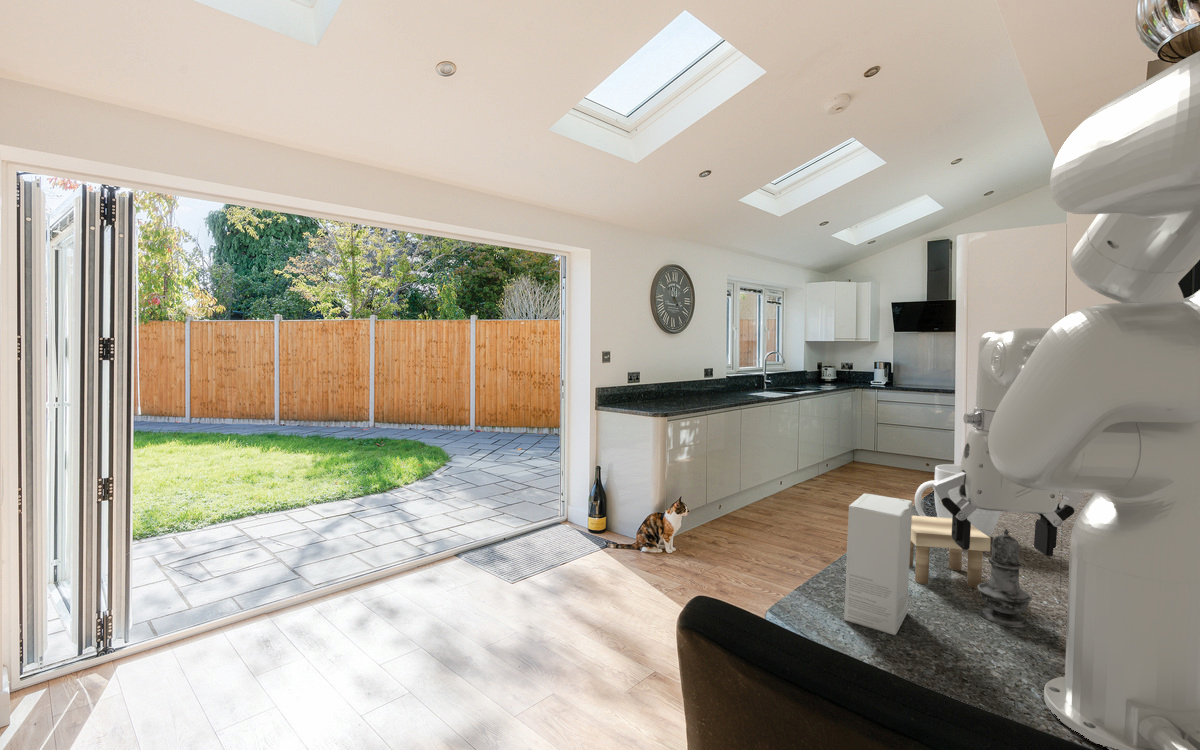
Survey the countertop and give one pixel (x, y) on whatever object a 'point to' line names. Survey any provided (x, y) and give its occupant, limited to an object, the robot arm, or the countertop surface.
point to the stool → (940, 535)
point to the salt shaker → (1004, 585)
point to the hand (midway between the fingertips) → (1001, 549)
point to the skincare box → (878, 562)
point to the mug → (978, 518)
